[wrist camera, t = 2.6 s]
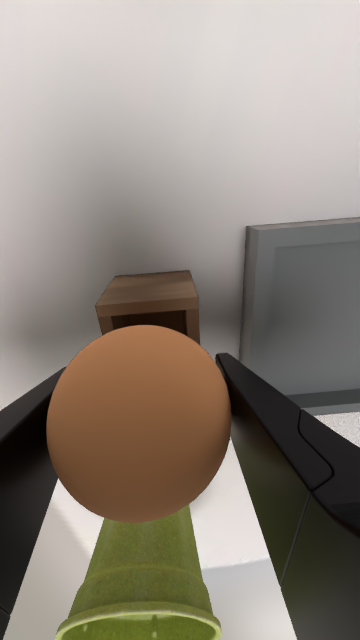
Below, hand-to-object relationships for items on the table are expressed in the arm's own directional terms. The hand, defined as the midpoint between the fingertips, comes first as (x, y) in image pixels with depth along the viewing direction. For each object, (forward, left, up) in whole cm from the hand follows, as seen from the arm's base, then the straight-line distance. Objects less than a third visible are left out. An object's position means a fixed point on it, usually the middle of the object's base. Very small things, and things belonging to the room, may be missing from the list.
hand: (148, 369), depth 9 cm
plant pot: (+3, +17, -6) cm, 18 cm away
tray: (-13, +2, -6) cm, 14 cm away
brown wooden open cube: (0, 0, -6) cm, 6 cm away
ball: (0, 0, +2) cm, 2 cm away
